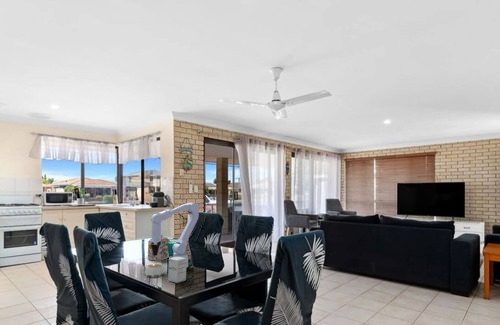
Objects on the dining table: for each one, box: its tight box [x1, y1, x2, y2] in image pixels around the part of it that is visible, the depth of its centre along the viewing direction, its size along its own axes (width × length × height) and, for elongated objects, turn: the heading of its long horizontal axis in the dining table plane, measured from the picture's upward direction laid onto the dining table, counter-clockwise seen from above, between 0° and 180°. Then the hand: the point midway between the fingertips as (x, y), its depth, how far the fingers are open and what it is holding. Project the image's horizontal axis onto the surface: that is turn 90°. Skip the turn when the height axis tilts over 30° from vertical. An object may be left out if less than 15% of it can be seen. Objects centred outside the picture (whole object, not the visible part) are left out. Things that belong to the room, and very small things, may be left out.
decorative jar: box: [147, 234, 171, 262], centre depth 235 cm, size 12×12×18 cm
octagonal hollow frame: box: [143, 263, 165, 278], centre depth 192 cm, size 12×11×5 cm
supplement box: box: [167, 256, 187, 284], centre depth 179 cm, size 7×7×13 cm
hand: (155, 254), depth 201 cm, fingers open, 7 cm apart
